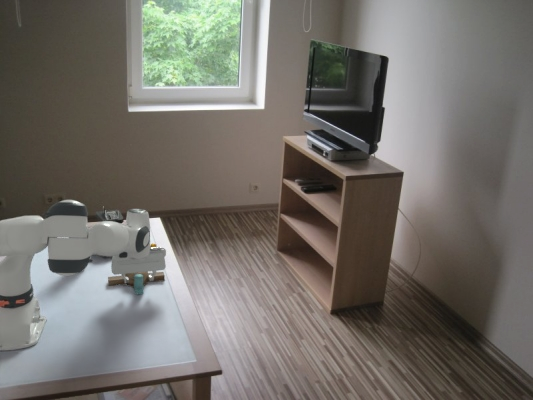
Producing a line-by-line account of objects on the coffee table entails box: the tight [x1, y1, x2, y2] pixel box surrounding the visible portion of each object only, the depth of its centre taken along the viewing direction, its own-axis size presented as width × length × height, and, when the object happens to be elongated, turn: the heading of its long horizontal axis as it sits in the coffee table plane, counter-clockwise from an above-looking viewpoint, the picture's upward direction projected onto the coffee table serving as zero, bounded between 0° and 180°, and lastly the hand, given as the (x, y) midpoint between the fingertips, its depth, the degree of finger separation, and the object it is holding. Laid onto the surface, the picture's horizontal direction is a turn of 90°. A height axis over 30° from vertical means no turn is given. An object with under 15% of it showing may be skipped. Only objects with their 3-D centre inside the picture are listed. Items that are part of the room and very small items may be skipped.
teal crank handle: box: [133, 274, 144, 295], centre depth 224 cm, size 6×3×7 cm, turn 18°
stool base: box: [107, 271, 165, 288], centre depth 234 cm, size 16×22×6 cm
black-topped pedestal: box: [95, 206, 125, 224], centre depth 271 cm, size 28×26×13 cm
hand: (139, 281), depth 222 cm, fingers open, 8 cm apart
